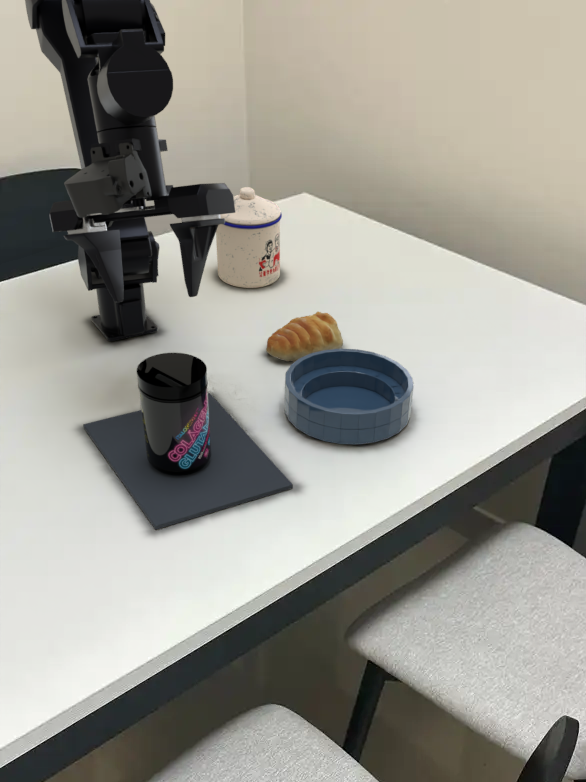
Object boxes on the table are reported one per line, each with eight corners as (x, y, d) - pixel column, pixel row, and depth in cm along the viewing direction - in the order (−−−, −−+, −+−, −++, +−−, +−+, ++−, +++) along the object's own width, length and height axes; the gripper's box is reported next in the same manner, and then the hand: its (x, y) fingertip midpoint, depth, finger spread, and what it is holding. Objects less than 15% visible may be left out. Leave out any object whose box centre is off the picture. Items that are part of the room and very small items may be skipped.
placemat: (83, 428, 104) (82, 424, 104) (209, 396, 110) (209, 392, 110) (155, 529, 92) (155, 525, 92) (292, 488, 98) (292, 484, 98)
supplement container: (157, 484, 97) (147, 392, 89) (138, 449, 101) (128, 358, 94) (221, 470, 99) (216, 380, 92) (200, 436, 103) (194, 347, 96)
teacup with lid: (271, 293, 130) (271, 206, 122) (207, 284, 131) (202, 196, 123) (294, 258, 139) (295, 174, 131) (233, 250, 140) (231, 166, 132)
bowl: (263, 397, 111) (262, 364, 108) (367, 370, 116) (370, 338, 113) (324, 460, 102) (325, 426, 99) (433, 428, 108) (438, 395, 105)
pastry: (286, 371, 115) (286, 342, 112) (254, 349, 119) (253, 320, 116) (347, 350, 120) (348, 322, 117) (314, 329, 123) (315, 301, 121)
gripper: (-6, 141, 90) (32, 314, 96) (160, 114, 82) (189, 304, 88) (71, 143, 99) (101, 301, 105) (225, 118, 91) (248, 290, 98)
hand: (155, 299), depth 99 cm, fingers open, 9 cm apart
